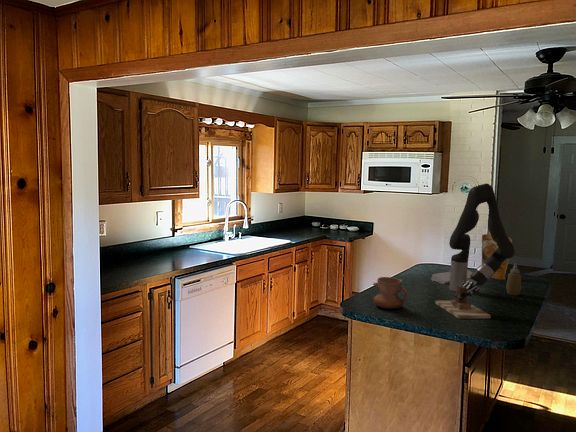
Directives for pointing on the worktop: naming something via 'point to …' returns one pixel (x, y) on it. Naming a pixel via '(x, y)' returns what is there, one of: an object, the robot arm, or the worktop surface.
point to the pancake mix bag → (488, 250)
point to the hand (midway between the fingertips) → (457, 298)
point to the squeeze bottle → (514, 281)
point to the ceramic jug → (389, 293)
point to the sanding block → (463, 303)
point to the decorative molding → (446, 277)
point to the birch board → (462, 310)
